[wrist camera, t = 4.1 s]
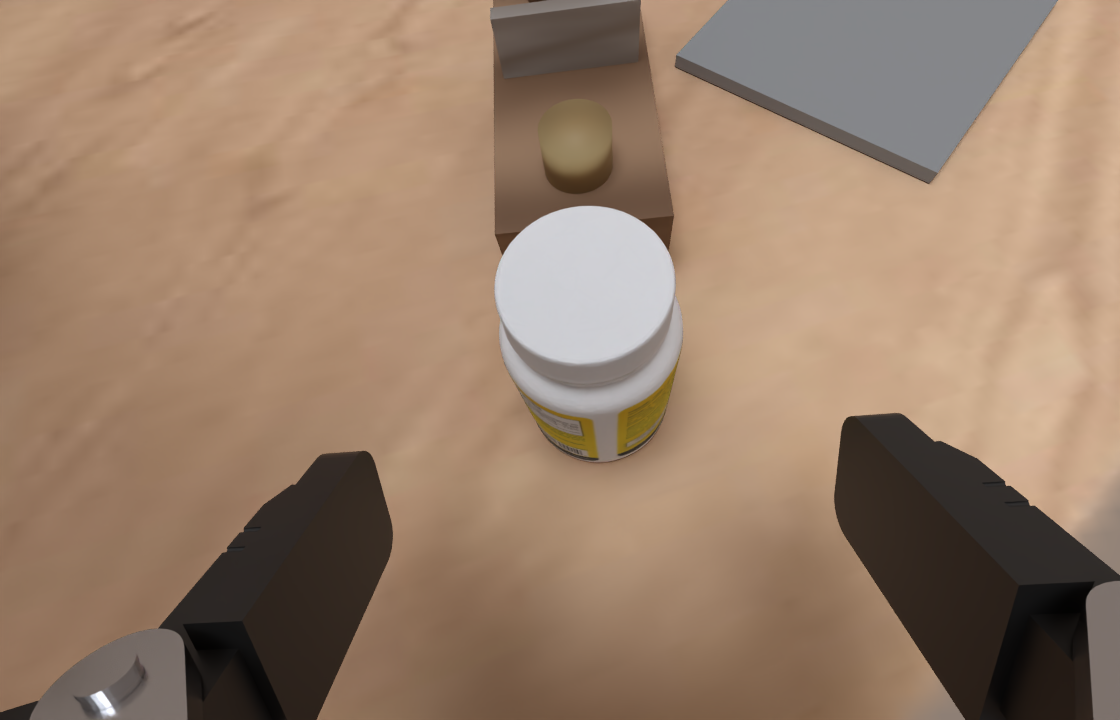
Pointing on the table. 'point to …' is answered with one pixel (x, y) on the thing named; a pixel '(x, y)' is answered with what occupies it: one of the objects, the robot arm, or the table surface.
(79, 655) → the table surface
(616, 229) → the supplement bottle
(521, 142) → the plane body
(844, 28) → the felt mat
